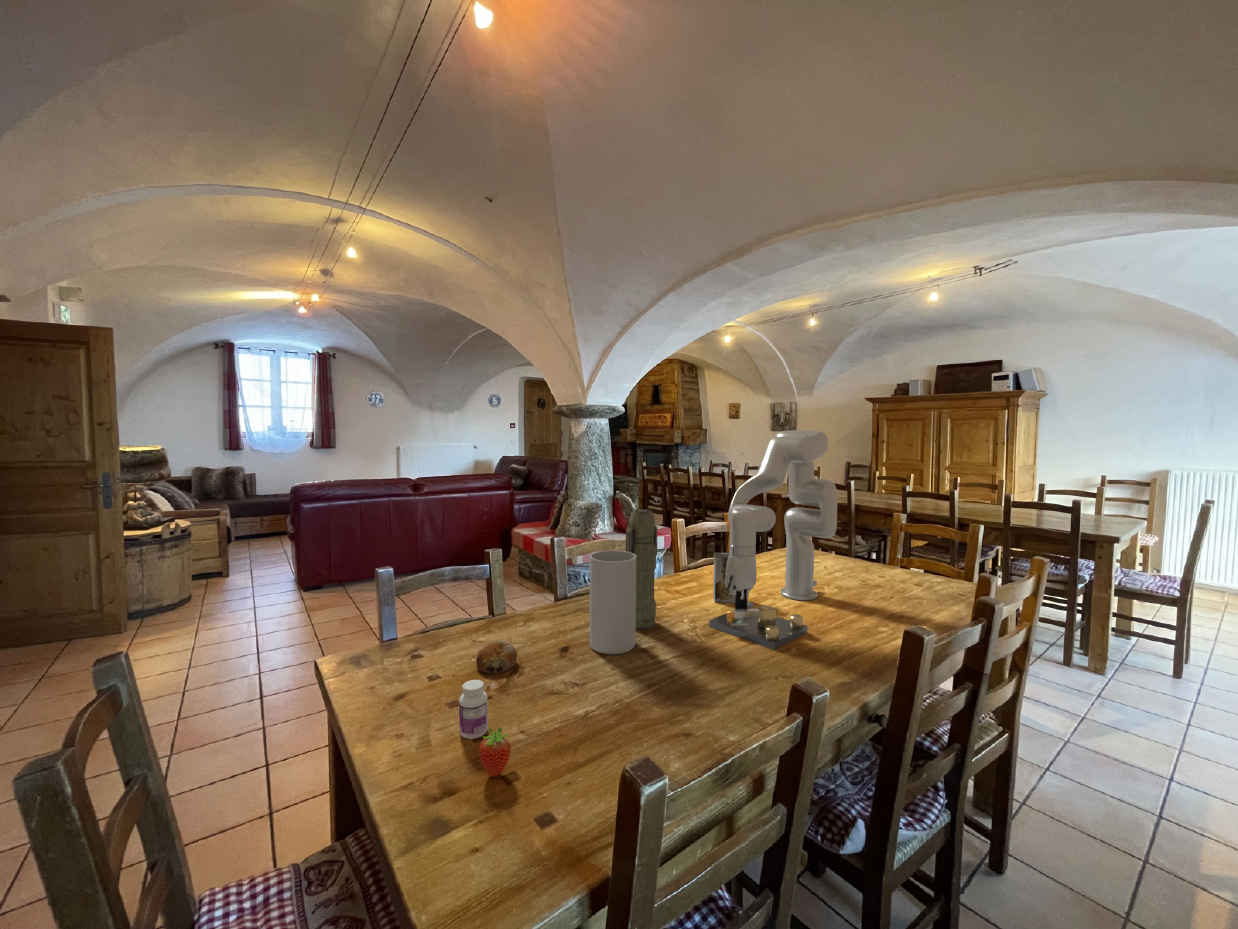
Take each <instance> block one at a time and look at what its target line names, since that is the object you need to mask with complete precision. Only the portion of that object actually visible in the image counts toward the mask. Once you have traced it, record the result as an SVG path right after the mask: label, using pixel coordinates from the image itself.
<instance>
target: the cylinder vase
mask: <svg viewBox="0 0 1238 929" xmlns="http://www.w3.org/2000/svg"><path fill="white" fill-rule="evenodd" d="M636 630H637V629H636V555H635V554H633V553H630V552H626V550H601V551H595V552H593V553H591V554H590V555H589V645H590V648H591V649H592V650H593V651H595V652H597V653H600V654H604V655H621V654H625V653H628V652H630V651H632V650H633V649H634V648H635V647H636Z"/></svg>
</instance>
